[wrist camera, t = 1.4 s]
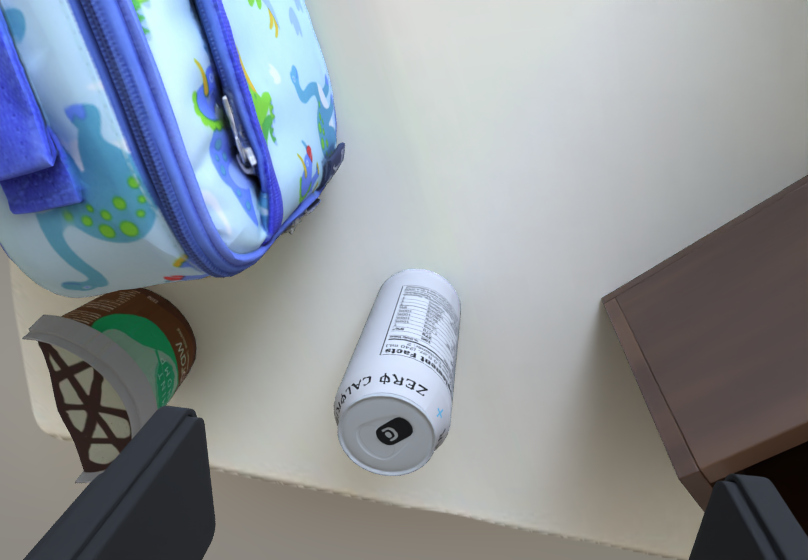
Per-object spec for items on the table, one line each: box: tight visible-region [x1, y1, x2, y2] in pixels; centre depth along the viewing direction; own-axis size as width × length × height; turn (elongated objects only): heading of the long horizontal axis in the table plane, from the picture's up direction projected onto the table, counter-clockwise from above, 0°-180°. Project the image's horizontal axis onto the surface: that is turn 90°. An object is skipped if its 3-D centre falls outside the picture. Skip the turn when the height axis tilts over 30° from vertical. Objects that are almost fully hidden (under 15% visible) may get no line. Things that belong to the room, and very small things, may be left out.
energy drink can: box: [334, 269, 461, 476], centre depth 34 cm, size 6×6×15 cm
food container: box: [22, 288, 196, 483], centre depth 41 cm, size 12×6×10 cm, turn 4°
